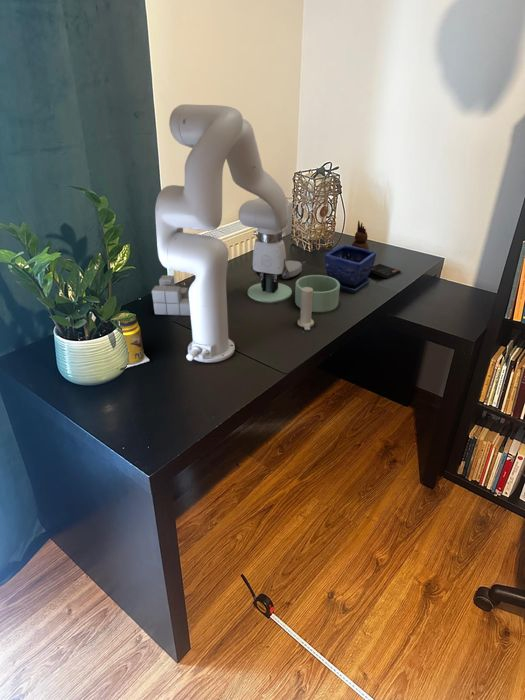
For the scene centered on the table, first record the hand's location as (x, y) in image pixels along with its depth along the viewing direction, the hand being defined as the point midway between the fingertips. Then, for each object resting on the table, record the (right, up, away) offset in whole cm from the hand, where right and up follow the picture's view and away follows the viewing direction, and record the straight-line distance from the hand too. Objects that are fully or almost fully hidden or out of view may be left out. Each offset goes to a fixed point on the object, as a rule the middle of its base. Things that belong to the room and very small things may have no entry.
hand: (269, 290), depth 163 cm
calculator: (+40, +8, +15) cm, 44 cm away
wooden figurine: (+34, +15, +27) cm, 46 cm away
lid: (0, -1, 0) cm, 1 cm away
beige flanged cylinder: (+10, -12, -17) cm, 24 cm away
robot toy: (+4, +7, +15) cm, 17 cm away
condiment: (-37, -22, -33) cm, 55 cm away
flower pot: (+27, +2, +6) cm, 28 cm away
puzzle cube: (-29, -6, -6) cm, 30 cm away
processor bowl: (+15, -5, -5) cm, 17 cm away
